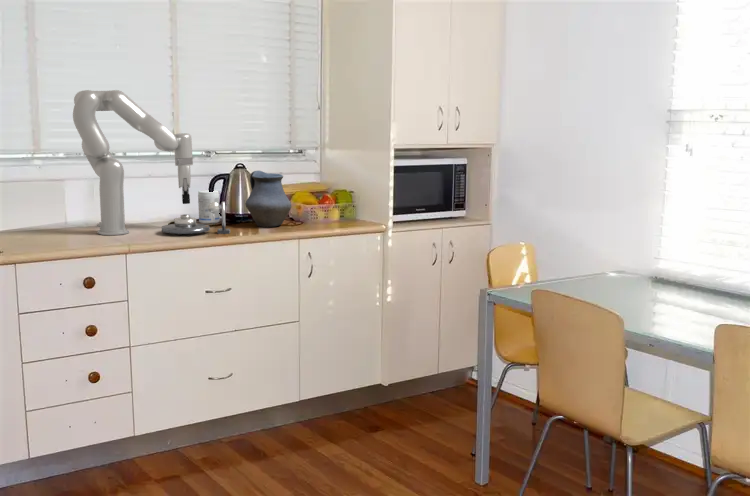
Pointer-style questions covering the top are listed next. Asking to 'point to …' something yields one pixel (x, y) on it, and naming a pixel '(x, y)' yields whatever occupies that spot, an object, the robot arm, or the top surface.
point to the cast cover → (185, 221)
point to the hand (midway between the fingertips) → (186, 203)
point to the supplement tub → (203, 202)
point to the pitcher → (267, 199)
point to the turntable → (185, 229)
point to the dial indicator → (214, 207)
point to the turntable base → (186, 234)
